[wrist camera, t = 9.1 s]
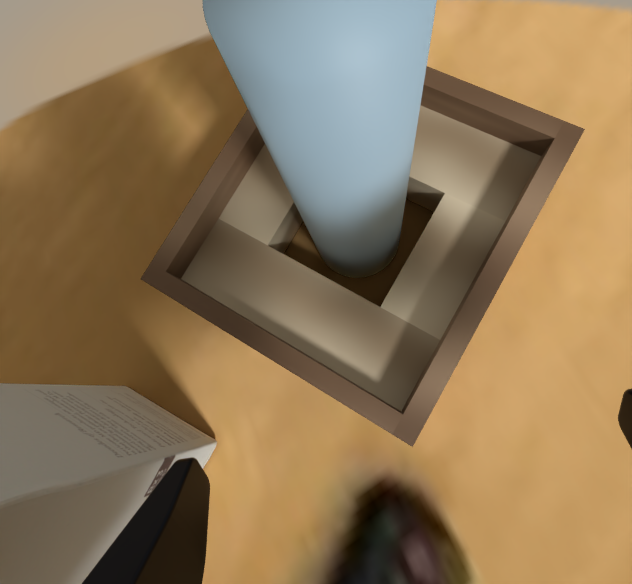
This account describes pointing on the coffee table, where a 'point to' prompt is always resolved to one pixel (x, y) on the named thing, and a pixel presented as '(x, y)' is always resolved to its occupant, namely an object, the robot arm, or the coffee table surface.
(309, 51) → the peg
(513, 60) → the coffee table surface
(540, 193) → the bore box
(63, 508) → the skincare box
